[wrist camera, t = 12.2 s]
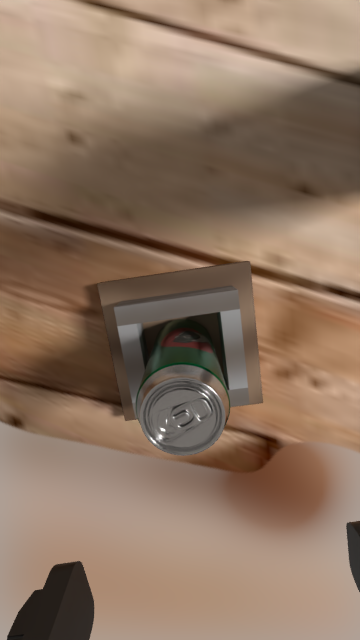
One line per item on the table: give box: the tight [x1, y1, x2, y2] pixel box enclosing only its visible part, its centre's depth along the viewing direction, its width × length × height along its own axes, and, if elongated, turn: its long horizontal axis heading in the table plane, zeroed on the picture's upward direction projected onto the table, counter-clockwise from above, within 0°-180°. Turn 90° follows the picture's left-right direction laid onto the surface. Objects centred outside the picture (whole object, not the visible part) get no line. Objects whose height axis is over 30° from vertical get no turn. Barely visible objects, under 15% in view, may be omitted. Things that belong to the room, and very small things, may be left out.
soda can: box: [136, 319, 230, 456], centre depth 21 cm, size 5×5×12 cm
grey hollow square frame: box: [97, 261, 263, 421], centre depth 26 cm, size 13×13×4 cm
